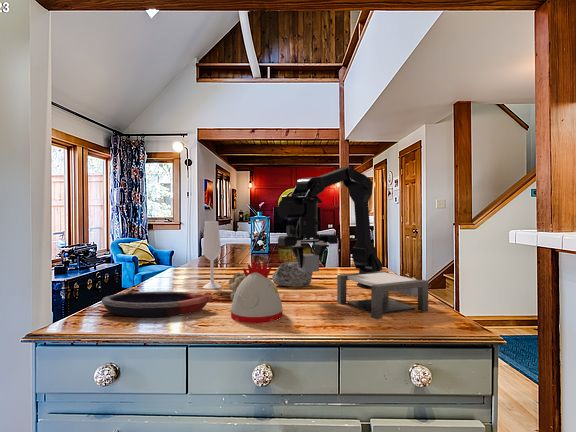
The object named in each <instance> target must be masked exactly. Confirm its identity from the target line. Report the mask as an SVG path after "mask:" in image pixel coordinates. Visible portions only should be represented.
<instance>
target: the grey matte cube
mask: <svg viewBox="0 0 576 432" xmlns="http://www.w3.org/2000/svg"><path fill="white" fill-rule="evenodd" d="M298 270H299V271H302V272H313V273H314V272H315V273H316V272H320V261H319V255H316V254H314V253H303V265H302V268H300V267H299V265H298Z"/></svg>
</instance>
